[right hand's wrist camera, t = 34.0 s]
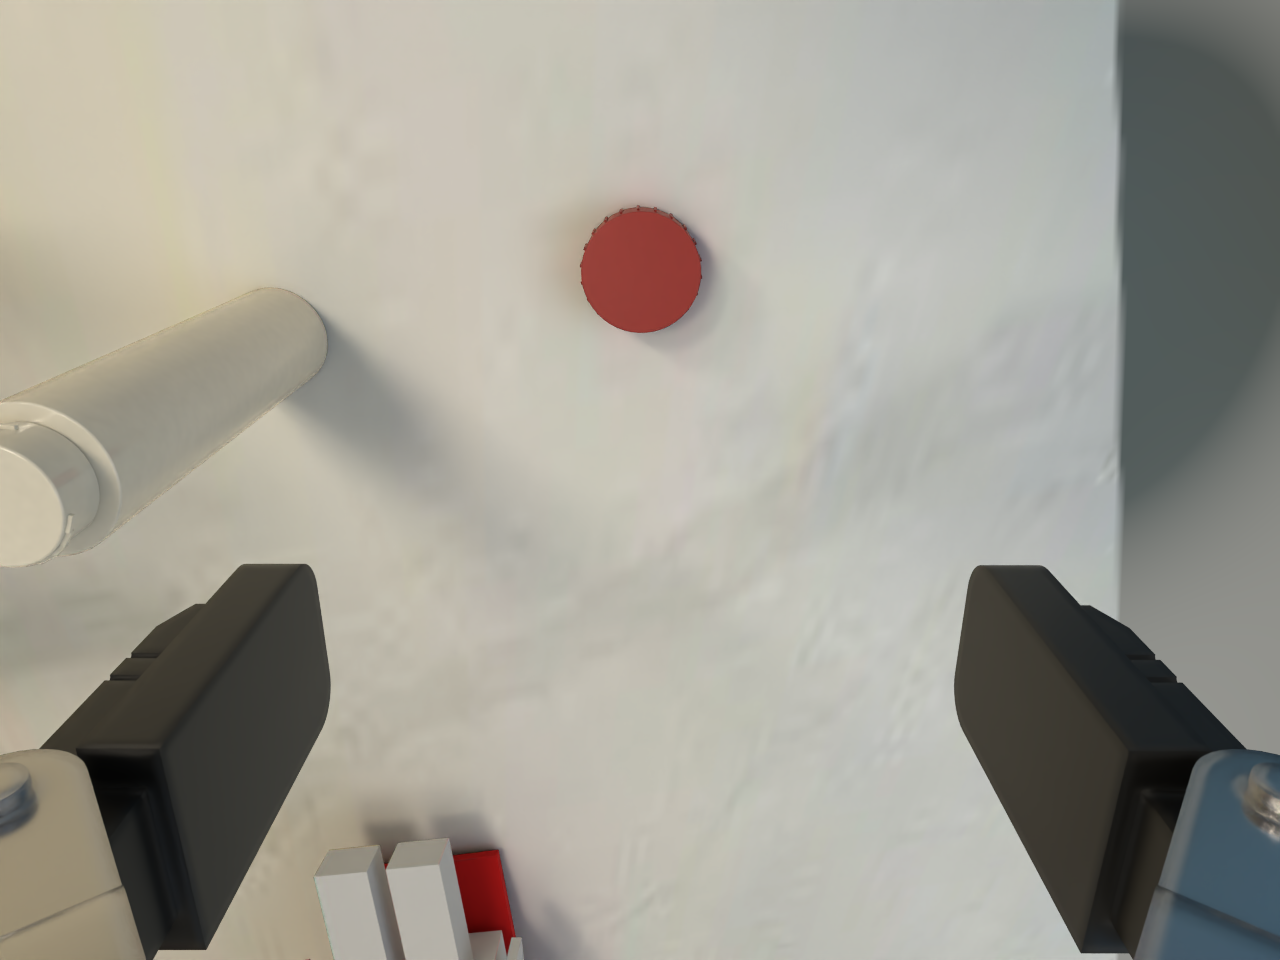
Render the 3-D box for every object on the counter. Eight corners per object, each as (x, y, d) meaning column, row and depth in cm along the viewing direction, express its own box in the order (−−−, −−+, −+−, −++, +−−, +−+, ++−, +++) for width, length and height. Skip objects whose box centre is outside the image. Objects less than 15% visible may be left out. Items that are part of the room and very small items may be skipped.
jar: (219, 369, 41) (-102, 559, 23) (234, 274, 39) (-98, 398, 22) (318, 398, 42) (77, 606, 24) (336, 305, 40) (93, 452, 22)
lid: (654, 180, 38) (655, 183, 36) (722, 280, 40) (726, 288, 38) (558, 252, 39) (554, 258, 37) (628, 347, 41) (627, 358, 39)
